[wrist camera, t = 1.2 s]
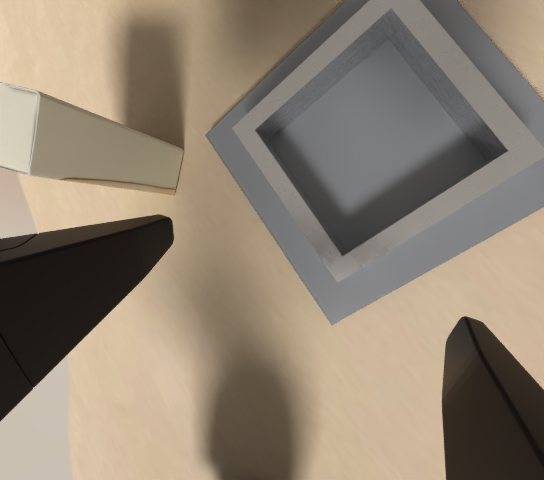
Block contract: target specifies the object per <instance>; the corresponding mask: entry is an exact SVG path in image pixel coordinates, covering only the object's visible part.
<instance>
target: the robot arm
mask: <svg viewBox="0 0 544 480" xmlns="http://www.w3.org/2000/svg"><path fill="white" fill-rule="evenodd" d="M173 241H174V234H173V224H172V220H171V219H170V218H169V217H166V216H163V215H153V216H146V217H140V218H133V219H127V220H120V221H114V222H107V223H101V224H94V225H88V226H82V227H75V228H69V229H62V230H56V231H49V232H43V233H39V234H30V235H23V236H17V237H9V238H3V239H0V421H1V420H2V419H3V418H4V417H5V416H6V415H7V414H8V413H9V412H10V411H11V410H12V409H13V408H14V407H15V406H16V405H17V404H18V403H19V402H20V401H21V400H22V399H23V398H24V397H25V396H26V395H27V394H28V393H29V392H30V391H31V390H32V389H33V387H35V386H36V385H37V384H38V383H39V382H40V381H41V380H42V379H43V378H44V377H45V376H46V375H47V374H48V373H49V372H50V371H51V370H52V369H53V368H54V367H55V366H56V365H57V364H58V363H59V362H60V361H61V360H62V359H63V358H64V357H65V356H66V355H67V354H68V353H69V352H70V351H71V350H72V349H73V348H74V347H75V346H76V345H77V344H78V343H79V342H80V341H81V340H82V339H83V338H84V337H85V336H86V335H88V334H89V333H90V332H91V331H92V330H93V329H94V328H95V327H96V326H97V325H98V324H99V323H100V322H101V321H102V320H103V319H104V318H105V317H106V316H107V315H108V314H109V313H110V312H111V311H112V310H113V309H114V308H115V307H116V306H117V305H118V304H119V303H120V302H121V301H122V300H123V299H124V298H125V297H126V296H127V295H128V294H129V293H130V292H131V291H132V290H133V289H134V288H135V287H136V286H137V285H138V284H139V283H140V282H141V281H142V280H143V279H144V278H145V277H146V275H147V274H148V273H149V272H150V271H151V270H152V268H153V267H154V266H155V265H156V264H157V262H158V261H159V260H160V259H161V258H162V256H163V255H164V254H165V253H166V251H167V250H168V249H169V248H170V247H171V245H172V244H173ZM442 416H443V433H444V451H445V468H446V480H544V390H543V389H542V387H541V386H540V385H539V384H538V383H537V382H536V381H535V380H534V379H533V377H532V376H531V375H530V374H529V373H528V372H527V371H526V370H525V369H524V367H523V366H522V365H521V364H520V363H519V362H518V361H517V360H516V359H515V357H514V356H513V355H512V354H511V353H510V352H509V351H508V350H507V349H506V347H505V346H504V345H503V344H502V343H501V342H500V341H499V340H498V339H497V337H496V336H495V335H494V334H493V333H492V332H491V331H490V330H489V329H488V328H487V326H486V325H485V324H484V323H483V322H481V321H479V320H476V319H473V318H470V317H467V316H464V317H462V318H461V319H460V320H459V321H458V323H457V324H456V326H455V327H454V329H453V330H452V332H451V333H450V335H449V337H448V339H447V341H446V348H445V361H444V375H443V389H442Z"/></svg>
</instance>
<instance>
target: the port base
mask: <svg viewBox="0 0 544 480" xmlns="http://www.w3.org/2000/svg"><path fill="white" fill-rule="evenodd" d="M368 1H369V0H346V1H345V2H344V3H343V4H342V5H341V6H340V7H339V8H338V9H337V10H336V11H335V12H334V13H333V14H332V15H331V16H330V17H329V18H327V19H326V20H325V21H324V22H323V23H322V24H321V25H320V26H319V27H318V28H317V29H316V30H315V31H314V32H313V33H312V34H311V35H310V36H309V37H308V38H307V39H305V40H304V41H303V42H302V43H301V44H300V45H299V46H298V47H297V48H296V49H295V50H294V51H293V52H292V53H291V54H290V55H289V56H288V57H287V58H286V59H285V60H283V61H282V62H281V63H280V64H279V65H278V66H277V67H276V68H275V69H274V70H273V71H272V72H271V73H270V74H269V75H268V76H267V77H266V78H265V79H264V80H263V81H261V82H260V83H259V84H258V85H257V86H256V87H255V88H254V89H253V90H252V91H251V92H250V93H249V94H248V95H247V96H246V97H245V98H244V99H243V100H242V101H241V102H240V103H238V104H237V105H236V106H235V107H234V108H233V109H232V110H231V111H230V112H229V113H228V114H227V115H226V116H225V117H224V118H223V119H222V120H221V121H220V122H219V123H218V124H216V125H215V126H214V127H213V128H212V129H211V130H210V131H209V132H208V133H207V134H206V137H207V138H208V140H209V141H210V143H211V144H212V146H213V147H214V149H215V150H216V152H217V153H218V155H219V156H220V158H221V159H222V161H223V163H224V164H225V166H226V167H227V169H228V170H229V172H230V173H231V175H232V176H233V178H234V179H235V181H236V182H237V184H238V185H239V187H240V188H241V190H242V191H243V193H244V194H245V196H246V197H247V199H248V200H249V202H250V203H251V205H252V206H253V208H254V209H255V211H256V212H257V214H258V215H259V217H260V218H261V220H262V221H263V223H264V224H265V226H266V227H267V229H268V230H269V232H270V233H271V235H272V236H273V238H274V239H275V241H276V242H277V244H278V245H279V247H280V248H281V250H282V251H283V253H284V254H285V256H286V257H287V259H288V260H289V262H290V263H291V265H292V266H293V268H294V269H295V271H296V272H297V274H298V275H299V277H300V278H301V280H302V281H303V283H304V284H305V286H306V287H307V289H308V290H309V292H310V293H311V295H312V296H313V298H314V299H315V301H316V302H317V304H318V305H319V307H320V308H321V310H322V311H323V313H324V314H325V316H326V317H327V319H328V320H329V322H330V323H331V325H333V324H335V323H337V322H338V321H340V320H342V319H344V318H346V317H347V316H349V315H351V314H353V313H355V312H356V311H358V310H360V309H362V308H363V307H365V306H367V305H369V304H371V303H372V302H374V301H376V300H378V299H380V298H381V297H383V296H385V295H387V294H389V293H390V292H392V291H394V290H396V289H398V288H399V287H401V286H403V285H405V284H407V283H408V282H410V281H412V280H414V279H416V278H417V277H419V276H421V275H423V274H425V273H426V272H428V271H430V270H432V269H433V268H435V267H437V266H439V265H441V264H442V263H444V262H446V261H448V260H450V259H451V258H453V257H455V256H457V255H459V254H460V253H462V252H464V251H466V250H468V249H469V248H471V247H473V246H475V245H477V244H478V243H480V242H482V241H484V240H486V239H487V238H489V237H491V236H493V235H494V234H496V233H498V232H500V231H502V230H503V229H505V228H507V227H509V226H511V225H512V224H514V223H516V222H518V221H520V220H521V219H523V218H525V217H527V216H529V215H530V214H532V213H534V212H536V211H538V210H539V209H541V208H543V207H544V158H542V159H540V160H539V161H537V162H536V163H534V164H532V165H531V166H529V167H527V168H526V169H524V170H522V171H521V172H519V173H517V174H516V175H514V176H512V177H511V178H509V179H508V180H506V181H504V182H503V183H501V184H499V185H498V186H496V187H494V188H493V189H491V190H489V191H488V192H486V193H484V194H483V195H481V196H480V197H478V198H476V199H475V200H473V201H471V202H470V203H468V204H466V205H465V206H463V207H461V208H460V209H458V210H456V211H455V212H453V213H452V214H450V215H448V216H447V217H445V218H443V219H442V220H440V221H438V222H437V223H435V224H433V225H432V226H430V227H428V228H427V229H425V230H424V231H422V232H420V233H419V234H417V235H415V236H414V237H412V238H410V239H409V240H407V241H405V242H404V243H402V244H400V245H399V246H397V247H396V248H394V249H392V250H391V251H389V252H387V253H386V254H384V255H382V256H381V257H379V258H377V259H376V260H374V261H372V262H371V263H369V264H368V265H366V266H364V267H363V268H361V269H359V270H358V271H356V272H354V273H353V274H351V275H349V276H348V277H346V278H344V279H343V280H341V281H340V282H338V283H337V281H336V280H335V279H334V277H333V276H332V274H331V273H330V271H329V270H328V268H327V267H326V265H325V264H324V262H323V261H322V259H321V258H320V257H319V255H318V254H317V252H316V251H315V249H314V248H313V246H312V245H311V243H310V242H309V240H308V239H307V237H306V236H305V235H304V233H303V232H302V230H301V229H300V227H299V226H298V224H297V223H296V221H295V220H294V218H293V217H292V215H291V214H290V213H289V211H288V210H287V208H286V207H285V205H284V204H283V202H282V201H281V199H280V198H279V196H278V195H277V193H276V192H275V191H274V189H273V188H272V186H271V185H270V183H269V182H268V180H267V179H266V177H265V176H264V174H263V173H262V171H261V170H260V169H259V167H258V166H257V164H256V163H255V161H254V160H253V158H252V157H251V155H250V154H249V152H248V151H247V149H246V148H245V147H244V145H243V144H242V142H241V141H240V139H239V138H238V136H237V135H236V133H235V132H234V130H233V129H232V127H234V126H235V125H236V124H237V123H238V122H239V121H240V120H241V119H242V118H243V117H244V116H245V115H246V114H248V113H249V112H250V111H251V110H252V109H253V108H254V107H255V106H256V105H257V104H258V103H259V102H260V101H262V100H263V99H264V98H265V97H266V96H267V95H268V94H269V93H270V92H271V91H272V90H273V89H275V88H276V87H277V86H278V85H279V84H280V83H281V82H282V81H283V80H284V79H285V78H286V77H287V76H289V75H290V74H291V73H292V72H293V71H294V70H295V69H296V68H297V67H298V66H299V65H300V64H301V63H303V62H304V61H305V60H306V59H307V58H308V57H309V56H310V55H311V54H312V53H313V52H314V51H315V50H317V49H318V48H319V47H320V46H321V45H322V44H323V43H324V42H325V41H326V40H327V39H328V38H329V37H331V36H332V35H333V34H334V33H335V32H336V31H337V30H338V29H339V28H340V27H341V26H342V25H343V24H345V23H346V22H347V21H348V20H349V19H350V18H351V17H352V16H353V15H354V14H355V13H356V12H357V11H359V10H360V9H361V8H362V7H363V6H364V5H365V4H366V3H367V2H368ZM420 1H421V2H422V3H423V5H424V6H425V7H426V8H427V9H428V11H429V12H430V13H431V14H432V15H433V17H434V18H435V19H436V20H437V21H438V22H439V24H440V25H441V26H442V27H443V28H444V30H445V31H446V32H447V33H448V34H449V36H450V37H451V38H452V39H453V40H454V42H455V43H456V44H457V45H458V46H459V47H460V49H461V50H462V51H463V52H464V53H465V55H466V56H467V57H468V58H469V59H470V61H471V62H472V63H473V64H474V65H475V67H476V68H477V69H478V70H479V71H480V73H481V74H482V75H483V76H484V77H485V78H486V80H487V81H488V82H489V83H490V84H491V86H492V87H493V88H494V89H495V90H496V92H497V93H498V94H499V95H500V96H501V98H502V99H503V100H504V101H505V102H506V103H507V105H508V106H509V107H510V108H511V109H512V111H513V112H514V113H515V114H516V115H517V117H518V118H519V119H520V120H521V121H522V123H523V124H524V125H525V126H526V127H527V128H528V130H529V131H530V132H531V133H532V134H533V136H534V137H535V138H536V139H537V140H538V142H539V143H540V144H541V145H542V146H543V148H544V101H543V100H542V99H541V97H540V96H539V95H538V94H537V93H536V92H535V90H534V89H533V88H532V87H531V86H530V85H529V83H528V82H527V81H526V80H525V79H524V78H523V77H522V75H521V74H520V73H519V72H518V71H517V70H516V68H515V67H514V66H513V65H512V64H511V63H510V61H509V60H508V59H507V58H506V57H505V56H504V54H503V53H502V52H501V51H500V50H499V49H498V47H497V46H496V45H495V44H494V43H493V42H492V40H491V39H490V38H489V37H488V36H487V35H486V34H485V32H484V31H483V30H482V29H481V28H480V27H479V25H478V24H477V23H476V22H475V21H474V20H473V18H472V17H471V16H470V15H469V14H468V13H467V11H466V10H465V9H464V8H463V7H462V6H461V4H460V3H459V2H458V1H457V0H420ZM270 142H271V144H272V145H273V147H274V148H275V149H276V151H277V152H278V154H279V155H280V157H281V158H282V159H283V161H284V162H285V164H286V165H287V167H288V168H289V169H290V171H291V172H292V174H293V175H294V177H295V178H296V180H297V181H298V182H299V184H300V185H301V187H302V188H303V190H304V191H305V192H306V194H307V195H308V197H309V198H310V200H311V201H312V202H313V204H314V205H315V207H316V208H317V210H318V211H319V213H320V214H321V215H322V217H323V218H324V220H325V221H326V223H327V224H328V225H329V227H330V228H331V230H332V231H333V233H334V234H335V235H336V237H337V238H338V240H339V241H340V243H341V244H342V245H343V247H344V248H345V250H346V251H347V250H349V249H350V248H352V247H353V246H355V245H356V244H358V243H360V242H361V241H363V240H364V239H366V238H367V237H369V236H371V235H372V234H374V233H375V232H377V231H378V230H380V229H381V228H383V227H385V226H386V225H388V224H389V223H391V222H392V221H394V220H396V219H397V218H399V217H400V216H402V215H403V214H405V213H406V212H408V211H410V210H411V209H413V208H414V207H416V206H417V205H419V204H421V203H422V202H424V201H425V200H427V199H428V198H430V197H431V196H433V195H435V194H436V193H438V192H439V191H441V190H442V189H444V188H446V187H447V186H449V185H450V184H452V183H453V182H455V181H456V180H458V179H460V178H461V177H463V176H464V175H466V174H467V173H469V172H470V171H472V170H474V169H475V168H477V167H478V166H480V165H481V164H483V163H485V162H486V161H485V160H484V158H483V157H482V156H481V155H480V153H479V152H478V151H477V150H476V148H475V147H474V146H473V145H472V143H471V142H470V141H469V140H468V138H467V137H466V136H465V135H464V133H463V132H462V131H461V130H460V128H459V127H458V126H457V125H456V123H455V122H454V121H453V120H452V118H451V117H450V116H449V115H448V114H447V112H446V111H445V110H444V109H443V107H442V106H441V105H440V104H439V102H438V101H437V100H436V99H435V97H434V96H433V95H432V94H431V92H430V91H429V90H428V89H427V87H426V86H425V85H424V84H423V82H422V81H421V80H420V79H419V77H418V76H417V75H416V74H415V72H414V71H413V70H412V69H411V67H410V66H409V65H408V64H407V62H406V61H405V60H404V59H403V57H402V56H401V55H400V54H399V53H398V51H397V50H396V49H395V48H394V46H393V45H392V44H391V43H390V41H389V40H387V41H386V42H384V43H383V44H382V45H381V46H380V47H379V48H377V49H376V50H375V51H374V52H373V53H372V54H371V55H369V56H368V57H367V58H366V59H365V60H364V61H362V62H361V63H360V64H359V65H358V66H357V67H355V68H354V69H353V70H352V71H351V72H350V73H348V74H347V75H346V76H345V77H344V78H343V79H341V80H340V81H339V82H338V83H337V84H336V85H335V86H333V87H332V88H331V89H330V90H329V91H328V92H326V93H325V94H324V95H323V96H322V97H321V98H319V99H318V100H317V101H316V102H315V103H314V104H312V105H311V106H310V107H309V108H308V109H307V110H305V111H304V112H303V113H302V114H301V115H300V116H298V117H297V118H296V119H295V120H294V121H293V122H292V123H290V124H289V125H288V126H287V127H286V128H285V129H283V130H282V131H281V132H280V133H279V134H278V135H276V136H275V137H274V138H273V139H272V140H271V141H270Z"/></svg>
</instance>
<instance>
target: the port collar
mask: <svg viewBox="0 0 544 480" xmlns="http://www.w3.org/2000/svg"><path fill="white" fill-rule="evenodd" d="M387 40H389V41H390V43H391V44H392V45H393V46H394V48H395V49H396V50H397V51H398V53H399V54H400V55H401V56H402V57H403V59H404V60H405V61H406V62H407V64H408V65H409V66H410V67H411V69H412V70H413V71H414V72H415V74H416V75H417V76H418V77H419V79H420V80H421V81H422V82H423V84H424V85H425V86H426V87H427V89H428V90H429V91H430V92H431V94H432V95H433V96H434V97H435V99H436V100H437V101H438V102H439V104H440V105H441V106H442V107H443V109H444V110H445V111H446V112H447V114H448V115H449V116H450V117H451V118H452V120H453V121H454V122H455V123H456V125H457V126H458V127H459V128H460V130H461V131H462V132H463V133H464V135H465V136H466V137H467V138H468V140H469V141H470V142H471V143H472V145H473V146H474V147H475V148H476V150H477V151H478V152H479V153H480V155H481V156H482V157H483V158H484V160H485V161H486V162H485V163H483V164H481V165H480V166H478V167H477V168H475V169H474V170H472V171H470V172H469V173H467V174H466V175H464V176H463V177H461V178H460V179H458V180H456V181H455V182H453V183H452V184H450V185H449V186H447V187H446V188H444V189H442V190H441V191H439V192H438V193H436V194H435V195H433V196H431V197H430V198H428V199H427V200H425V201H424V202H422V203H421V204H419V205H417V206H416V207H414V208H413V209H411V210H410V211H408V212H406V213H405V214H403V215H402V216H400V217H399V218H397V219H396V220H394V221H392V222H391V223H389V224H388V225H386V226H385V227H383V228H381V229H380V230H378V231H377V232H375V233H374V234H372V235H371V236H369V237H367V238H366V239H364V240H363V241H361V242H360V243H358V244H356V245H355V246H353V247H352V248H350V249H349V250H347V251H346V250H345V248H344V247H343V245H342V244H341V243H340V241H339V240H338V238H337V237H336V235H335V234H334V233H333V231H332V230H331V228H330V227H329V225H328V224H327V223H326V221H325V220H324V218H323V217H322V215H321V214H320V213H319V211H318V210H317V208H316V207H315V205H314V204H313V202H312V201H311V200H310V198H309V197H308V195H307V194H306V192H305V191H304V190H303V188H302V187H301V185H300V184H299V182H298V181H297V180H296V178H295V177H294V175H293V174H292V172H291V171H290V169H289V168H288V167H287V165H286V164H285V162H284V161H283V159H282V158H281V157H280V155H279V154H278V152H277V151H276V149H275V148H274V147H273V145H272V144H271V142H270V141H271V140H272V139H273V138H274V137H275V136H276V135H278V134H279V133H280V132H281V131H282V130H283V129H285V128H286V127H287V126H288V125H289V124H290V123H292V122H293V121H294V120H295V119H296V118H297V117H298V116H300V115H301V114H302V113H303V112H304V111H305V110H307V109H308V108H309V107H310V106H311V105H312V104H314V103H315V102H316V101H317V100H318V99H319V98H321V97H322V96H323V95H324V94H325V93H326V92H328V91H329V90H330V89H331V88H332V87H333V86H335V85H336V84H337V83H338V82H339V81H340V80H341V79H343V78H344V77H345V76H346V75H347V74H348V73H350V72H351V71H352V70H353V69H354V68H355V67H357V66H358V65H359V64H360V63H361V62H362V61H364V60H365V59H366V58H367V57H368V56H369V55H371V54H372V53H373V52H374V51H375V50H376V49H377V48H379V47H380V46H381V45H382V44H383V43H384V42H386V41H387ZM232 129H233V130H234V132H235V133H236V135H237V136H238V138H239V139H240V141H241V142H242V144H243V145H244V147H245V148H246V149H247V151H248V152H249V154H250V155H251V157H252V158H253V160H254V161H255V163H256V164H257V166H258V167H259V169H260V170H261V171H262V173H263V174H264V176H265V177H266V179H267V180H268V182H269V183H270V185H271V186H272V188H273V189H274V191H275V192H276V193H277V195H278V196H279V198H280V199H281V201H282V202H283V204H284V205H285V207H286V208H287V210H288V211H289V213H290V214H291V215H292V217H293V218H294V220H295V221H296V223H297V224H298V226H299V227H300V229H301V230H302V232H303V233H304V235H305V236H306V237H307V239H308V240H309V242H310V243H311V245H312V246H313V248H314V249H315V251H316V252H317V254H318V255H319V257H320V258H321V259H322V261H323V262H324V264H325V265H326V267H327V268H328V270H329V271H330V273H331V274H332V276H333V277H334V279H335V280H336V281H337V283H338V282H340V281H341V280H343V279H344V278H346V277H348V276H349V275H351V274H353V273H354V272H356V271H358V270H359V269H361V268H363V267H364V266H366V265H368V264H369V263H371V262H372V261H374V260H376V259H377V258H379V257H381V256H382V255H384V254H386V253H387V252H389V251H391V250H392V249H394V248H396V247H397V246H399V245H400V244H402V243H404V242H405V241H407V240H409V239H410V238H412V237H414V236H415V235H417V234H419V233H420V232H422V231H424V230H425V229H427V228H428V227H430V226H432V225H433V224H435V223H437V222H438V221H440V220H442V219H443V218H445V217H447V216H448V215H450V214H452V213H453V212H455V211H456V210H458V209H460V208H461V207H463V206H465V205H466V204H468V203H470V202H471V201H473V200H475V199H476V198H478V197H480V196H481V195H483V194H484V193H486V192H488V191H489V190H491V189H493V188H494V187H496V186H498V185H499V184H501V183H503V182H504V181H506V180H508V179H509V178H511V177H512V176H514V175H516V174H517V173H519V172H521V171H522V170H524V169H526V168H527V167H529V166H531V165H532V164H534V163H536V162H537V161H539V160H540V159H542V158H544V148H543V146H542V145H541V144H540V143H539V142H538V140H537V139H536V138H535V137H534V136H533V134H532V133H531V132H530V131H529V130H528V128H527V127H526V126H525V125H524V124H523V123H522V121H521V120H520V119H519V118H518V117H517V115H516V114H515V113H514V112H513V111H512V109H511V108H510V107H509V106H508V105H507V103H506V102H505V101H504V100H503V99H502V98H501V96H500V95H499V94H498V93H497V92H496V90H495V89H494V88H493V87H492V86H491V84H490V83H489V82H488V81H487V80H486V78H485V77H484V76H483V75H482V74H481V73H480V71H479V70H478V69H477V68H476V67H475V65H474V64H473V63H472V62H471V61H470V59H469V58H468V57H467V56H466V55H465V53H464V52H463V51H462V50H461V49H460V47H459V46H458V45H457V44H456V43H455V42H454V40H453V39H452V38H451V37H450V36H449V34H448V33H447V32H446V31H445V30H444V28H443V27H442V26H441V25H440V24H439V22H438V21H437V20H436V19H435V18H434V17H433V15H432V14H431V13H430V12H429V11H428V9H427V8H426V7H425V6H424V5H423V3H422V2H421V1H420V0H369V1H368V2H367V3H366V4H365V5H364V6H363V7H362V8H361V9H360V10H359V11H357V12H356V13H355V14H354V15H353V16H352V17H351V18H350V19H349V20H348V21H347V22H346V23H345V24H343V25H342V26H341V27H340V28H339V29H338V30H337V31H336V32H335V33H334V34H333V35H332V36H331V37H329V38H328V39H327V40H326V41H325V42H324V43H323V44H322V45H321V46H320V47H319V48H318V49H317V50H315V51H314V52H313V53H312V54H311V55H310V56H309V57H308V58H307V59H306V60H305V61H304V62H303V63H301V64H300V65H299V66H298V67H297V68H296V69H295V70H294V71H293V72H292V73H291V74H290V75H289V76H287V77H286V78H285V79H284V80H283V81H282V82H281V83H280V84H279V85H278V86H277V87H276V88H275V89H273V90H272V91H271V92H270V93H269V94H268V95H267V96H266V97H265V98H264V99H263V100H262V101H260V102H259V103H258V104H257V105H256V106H255V107H254V108H253V109H252V110H251V111H250V112H249V113H248V114H246V115H245V116H244V117H243V118H242V119H241V120H240V121H239V122H238V123H237V124H236V125H235V126H234V127H232Z"/></svg>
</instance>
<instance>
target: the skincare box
mask: <svg viewBox="0 0 544 480" xmlns="http://www.w3.org/2000/svg"><path fill="white" fill-rule="evenodd" d="M183 153H184V151H183V149H182V148H180V147H177V146H174V145H172V144H169V143H167V142H164V141H162V140H159V139H157V138H154V137H152V136H149V135H147V134H144V133H142V132H139V131H137V130H134V129H132V128H129V127H127V126H124V125H122V124H119V123H117V122H114V121H112V120H109V119H107V118H104V117H102V116H99V115H97V114H94V113H92V112H89V111H87V110H84V109H82V108H79V107H77V106H74V105H72V104H69V103H67V102H64V101H62V100H59V99H57V98H54V97H52V96H49V95H47V94H44V93H42V92H39V91H36V90H32V89H28V88H23V87H19V86H14V85H10V84H5V83H1V82H0V168H2V169H5V170H9V171H12V172H16V173H19V174H23V175H27V176H34V177H42V178H49V179H56V180H64V181H71V182H78V183H86V184H93V185H100V186H108V187H116V188H123V189H130V190H138V191H145V192H153V193H161V194H169V195H174V194H175V190H176V186H177V181H178V177H179V172H180V167H181V162H182V157H183Z"/></svg>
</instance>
